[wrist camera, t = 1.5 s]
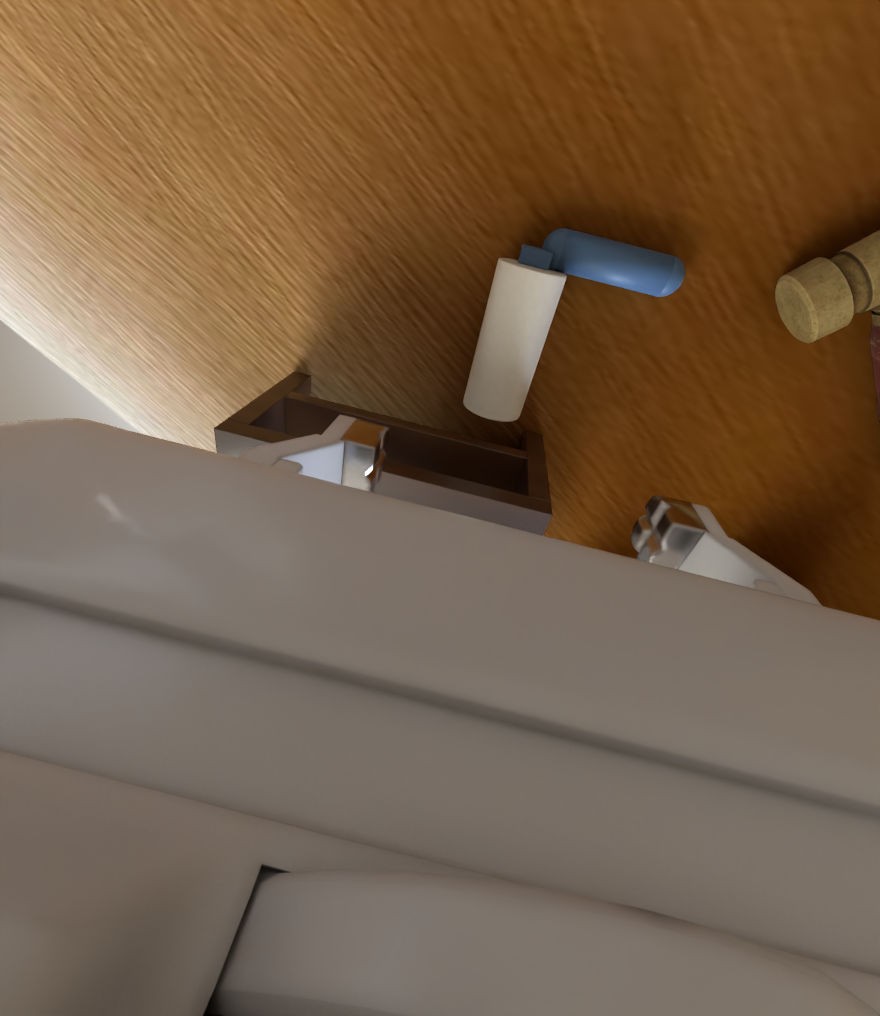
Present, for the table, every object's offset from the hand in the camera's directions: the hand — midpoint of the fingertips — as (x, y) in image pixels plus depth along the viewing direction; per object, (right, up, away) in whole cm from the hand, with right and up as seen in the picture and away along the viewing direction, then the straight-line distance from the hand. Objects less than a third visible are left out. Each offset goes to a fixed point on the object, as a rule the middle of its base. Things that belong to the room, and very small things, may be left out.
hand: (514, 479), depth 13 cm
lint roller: (+7, +12, +19) cm, 23 cm away
